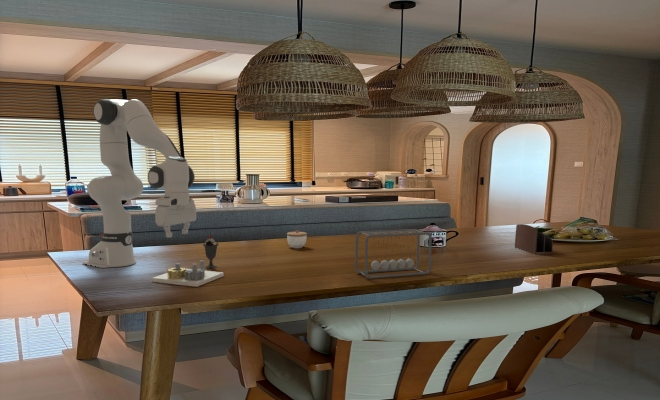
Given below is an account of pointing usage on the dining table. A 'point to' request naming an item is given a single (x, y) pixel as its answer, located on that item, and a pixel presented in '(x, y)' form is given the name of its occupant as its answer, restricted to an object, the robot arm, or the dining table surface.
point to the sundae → (210, 250)
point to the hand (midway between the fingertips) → (177, 235)
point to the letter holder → (532, 240)
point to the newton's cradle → (392, 263)
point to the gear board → (190, 276)
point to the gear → (176, 273)
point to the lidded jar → (296, 239)
